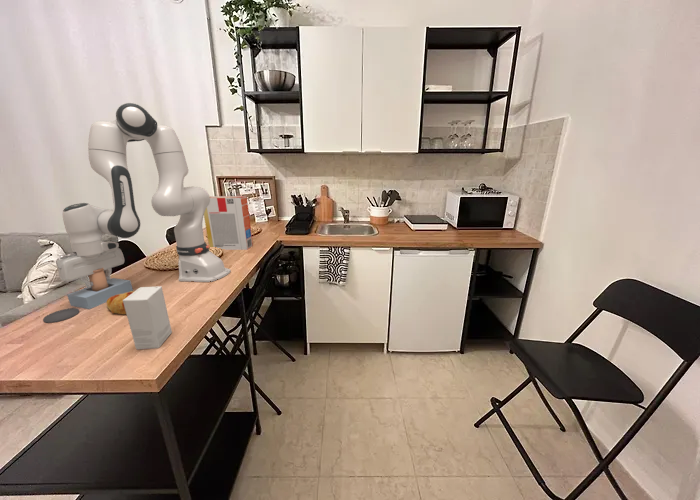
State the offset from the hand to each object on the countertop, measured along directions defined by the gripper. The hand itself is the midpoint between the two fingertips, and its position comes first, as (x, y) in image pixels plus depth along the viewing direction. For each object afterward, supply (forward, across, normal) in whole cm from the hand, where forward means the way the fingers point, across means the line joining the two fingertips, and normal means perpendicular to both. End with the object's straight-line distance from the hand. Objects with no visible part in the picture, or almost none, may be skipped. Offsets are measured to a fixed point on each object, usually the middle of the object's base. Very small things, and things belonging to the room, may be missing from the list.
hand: (99, 283), depth 112 cm
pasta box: (+6, +70, -4) cm, 70 cm away
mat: (+6, -14, -1) cm, 15 cm away
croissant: (+6, -3, -19) cm, 20 cm away
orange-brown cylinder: (+6, 0, 0) cm, 6 cm away
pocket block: (+6, 0, 0) cm, 6 cm away
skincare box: (+6, -16, -46) cm, 49 cm away
